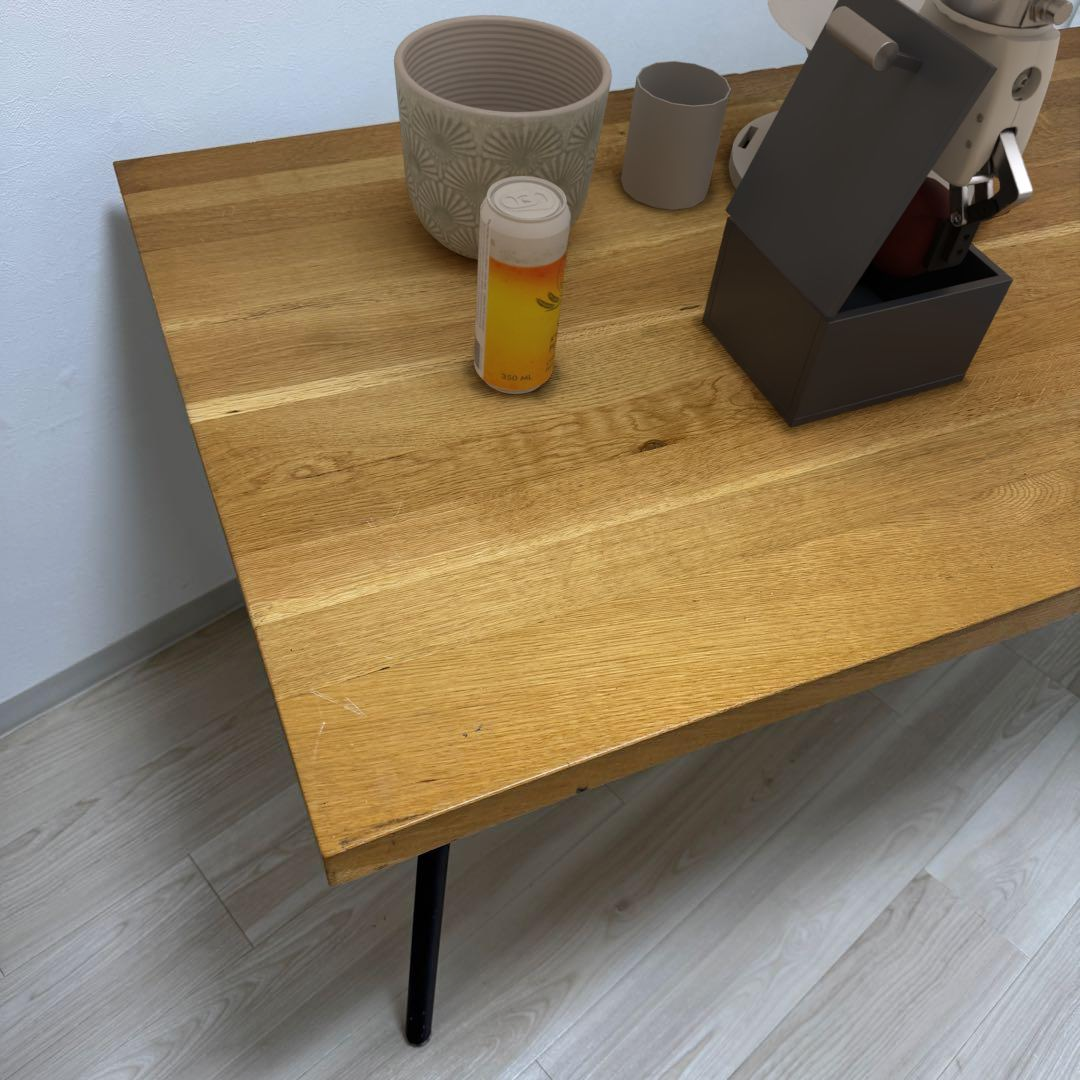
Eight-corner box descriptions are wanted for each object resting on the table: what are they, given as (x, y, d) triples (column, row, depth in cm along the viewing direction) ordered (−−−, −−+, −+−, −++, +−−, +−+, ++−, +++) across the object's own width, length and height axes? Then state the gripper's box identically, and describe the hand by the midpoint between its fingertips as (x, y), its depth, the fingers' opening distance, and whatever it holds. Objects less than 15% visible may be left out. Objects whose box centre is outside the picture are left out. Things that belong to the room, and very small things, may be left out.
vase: (947, 131, 110) (1009, -24, 99) (1012, 268, 94) (1095, 102, 82) (717, 111, 109) (752, -48, 97) (743, 246, 93) (788, 75, 81)
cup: (722, 182, 100) (745, 81, 92) (684, 219, 95) (705, 116, 87) (646, 153, 102) (663, 52, 95) (605, 188, 98) (619, 84, 90)
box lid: (861, -27, 67) (808, -48, 64) (998, 68, 59) (945, 49, 57) (732, 211, 78) (682, 202, 75) (834, 318, 70) (782, 312, 67)
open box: (863, 284, 91) (902, 183, 83) (962, 381, 83) (1014, 279, 75) (701, 320, 85) (727, 216, 78) (790, 427, 78) (828, 323, 70)
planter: (437, 166, 98) (437, -2, 86) (609, 205, 96) (633, 39, 84) (368, 262, 87) (359, 85, 75) (561, 309, 85) (581, 134, 73)
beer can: (564, 390, 78) (586, 215, 67) (489, 405, 77) (499, 229, 65) (535, 341, 82) (552, 167, 70) (463, 355, 80) (468, 179, 69)
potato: (935, 238, 82) (969, 156, 76) (944, 300, 76) (981, 217, 71) (842, 223, 82) (870, 140, 77) (844, 284, 76) (875, 200, 71)
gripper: (1149, 41, 60) (1020, 291, 73) (959, -70, 70) (876, 167, 83) (1052, 56, 58) (937, 311, 71) (870, -62, 68) (799, 181, 81)
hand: (904, 232), depth 77 cm, fingers closed on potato, 8 cm apart
